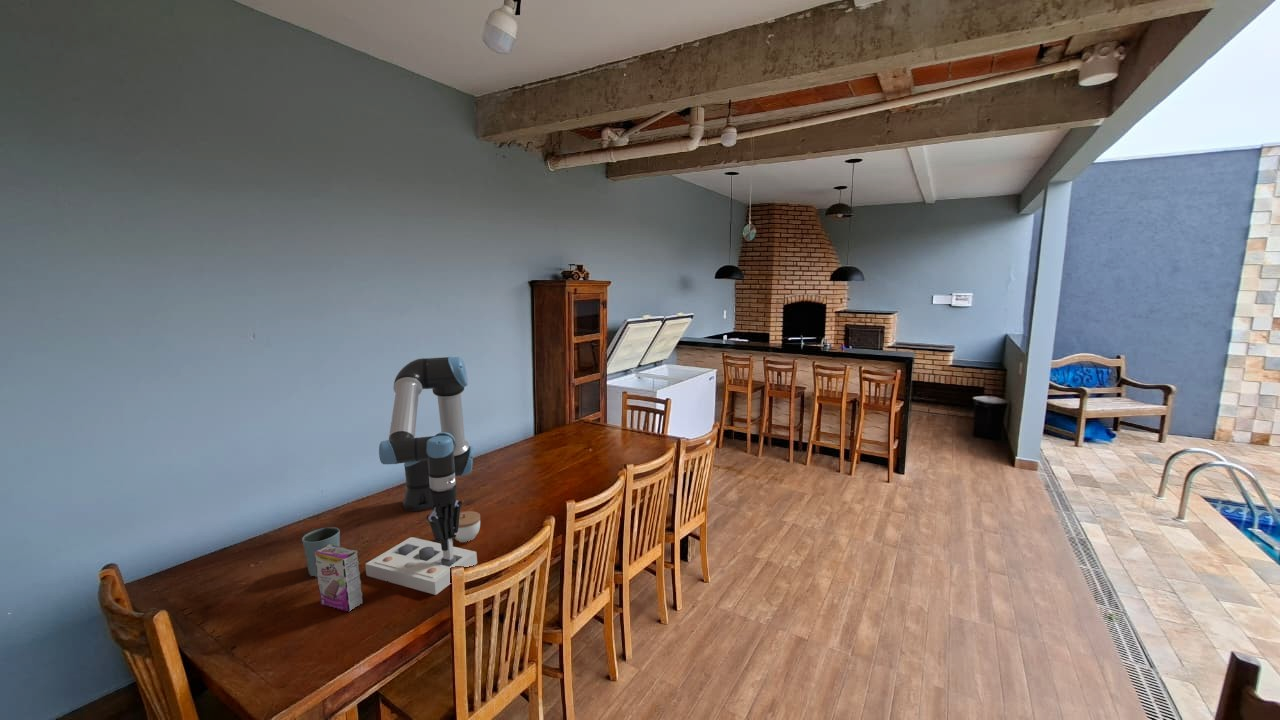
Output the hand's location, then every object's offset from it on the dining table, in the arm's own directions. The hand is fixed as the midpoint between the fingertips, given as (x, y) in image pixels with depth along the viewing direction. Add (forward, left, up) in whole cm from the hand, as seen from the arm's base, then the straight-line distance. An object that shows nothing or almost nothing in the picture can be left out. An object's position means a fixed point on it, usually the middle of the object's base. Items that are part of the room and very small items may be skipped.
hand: (448, 558), depth 158 cm
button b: (0, -9, -2) cm, 9 cm away
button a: (0, -18, -3) cm, 18 cm away
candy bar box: (+24, -17, -5) cm, 30 cm away
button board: (+2, -9, -5) cm, 10 cm away
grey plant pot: (+13, -39, -5) cm, 41 cm away
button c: (0, 0, -3) cm, 3 cm away
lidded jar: (-19, -10, -5) cm, 22 cm away
